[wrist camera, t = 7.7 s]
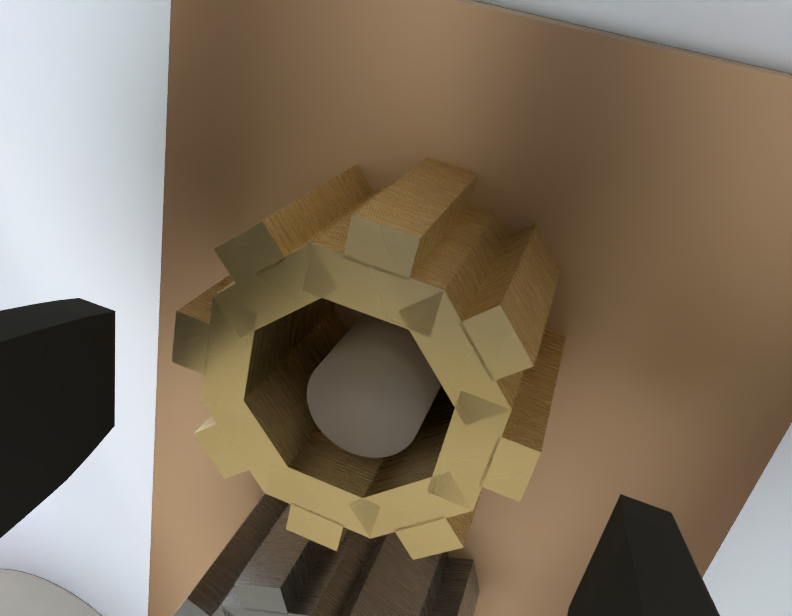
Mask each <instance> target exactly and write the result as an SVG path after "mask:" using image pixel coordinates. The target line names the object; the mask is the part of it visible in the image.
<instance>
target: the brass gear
mask: <svg viewBox="0 0 792 616" xmlns="http://www.w3.org/2000/svg"><path fill="white" fill-rule="evenodd" d="M477 176H478V173H475V172H472V171H469V170H466V169H462V168H459V167H456V166H453V165H450V164H447V163H444V162H441V161H437V160H434V159H431V158H428V157H427V158H426V159H424V160H423V161H422V162H420V163H419V164H418V165H417V166H415V167H414V168H413V169H411V170H410V171H409V172H407V173H406V174H405V175H404V176H402V177H401V178H400V179H398V180H393V181H391V182H390V183H388V184H386V185H384V186H382V187H381V188H379V189H377V190H375V191H373V190H372V189H371V187H370V185H369V183H368V182H367V180H366V178H365V177H364V175H363V173H362V171H361V170H360V168H359V166H358V164H356V165H355V166H353V167H351V168H349V169H348V170H346V171H344V172H343V173H341V174H339V175H338V176H336V177H334V178H332V179H331V180H329V181H327V182H326V183H324V184H322V185H320V186H319V187H317V188H315V189H314V190H312V191H310V192H309V193H307V194H305V195H304V196H302V197H300V198H299V199H297V200H295V201H294V202H292V203H290V204H289V205H287V206H285V207H284V208H282V209H280V210H279V211H277V212H275V213H274V214H272V215H270V216H269V217H267V218H265V219H264V220H262V221H260V222H259V223H257V224H255V225H254V226H252V227H250V228H249V229H247V230H245V231H244V232H242V233H240V234H239V235H237V236H235V237H234V238H232V239H230V240H229V241H227V242H225V243H224V244H222V245H220V246H219V247H217V248H215V249H214V250H215V252H216V253H217V255H218V257H219V258H220V260H221V261H222V263H223V264H224V266H225V268H226V269H227V271H228V272H229V274H230V275H228V276H227V277H225V278H224V279H222V280H221V281H219V282H218V283H217V284H215V285H214V286H212V287H211V288H209V289H208V290H206V291H205V292H203V293H202V294H200V295H199V296H198V297H196V298H195V299H193V300H192V301H190V302H189V303H187V304H186V305H184V306H183V307H181V308H180V309H179V310H177V311H176V318H175V329H174V341H173V352H172V362H173V363H175V364H178V365H180V366H183V367H185V368H188V369H190V370H193V371H195V372H198V373H200V374H203V375H204V376H203V385H202V393H201V400H202V402H203V403H204V405H205V406H206V408H207V409H208V411H209V412H210V414H211V415H212V416H211V417H210V418H209V419H208V420H207V421H206V422H205V423H204V424H203V425H202V426H201V427H200V428H199V429H198V430H197V431H196V432H195V433H194V436H195V437H196V439H197V440H198V442H199V443H200V444H201V446H202V447H203V449H204V450H205V452H206V453H207V454H208V456H209V457H210V459H211V460H212V462H213V463H214V465H215V466H216V467H217V469H218V470H219V472H220V473H221V475H222V476H223V478H224V479H226V478H229V477H231V476H234V475H237V474H240V473H242V472H245V471H248V470H249V471H250V472H251V474H252V475H253V477H254V478H255V480H256V481H257V483H258V484H259V485H260V487H261V488H262V490H263V491H264V493H265V494H268V495H270V496H272V497H275V498H277V499H279V500H282V501H284V502H286V503H289V504H291V507H290V511H289V516H288V521H287V526H286V529H287V530H289V531H291V532H293V533H296V534H298V535H300V536H303V537H305V538H307V539H309V540H312V541H314V542H316V543H319V544H321V545H323V546H326V547H328V548H330V549H332V550H335V551H337V550H338V548H339V546H340V544H341V543H342V541H343V539H344V537H345V535H346V533H347V532H348V530H352V531H354V532H356V533H359V534H361V535H363V536H366V537H368V538H370V539H371V538H375V537H378V536H382V535H386V534H389V533H393V532H395V533H396V534H397V536H398V537H399V539H400V541H401V542H402V544H403V545H404V547H405V548H406V550H407V551H408V553H409V555H410V556H411V558H412V559H413V560H415V559H419V558H423V557H427V556H431V555H435V554H439V553H443V552H447V551H452V550H456V549H460V548H464V545H465V541H466V538H467V535H468V532H469V529H470V526H471V522H472V519H473V516H474V513H475V510H476V507H477V504H478V500H479V497H480V494H481V491H482V488H483V487H484V488H486V489H488V490H491V491H493V492H496V493H498V494H501V495H503V496H506V497H508V498H511V499H513V500H516V501H518V502H520V501H521V499H522V497H523V494H524V492H525V490H526V487H527V485H528V483H529V480H530V478H531V475H532V473H533V471H534V468H535V466H536V464H537V461H538V459H539V457H540V454H541V451H542V447H543V442H544V437H545V433H546V428H547V423H548V418H549V414H550V409H551V404H552V400H553V395H554V390H555V386H556V381H557V376H558V371H559V367H560V362H561V357H562V353H563V348H564V343H565V339H566V337H563V336H560V335H557V334H554V333H552V332H549V331H546V330H544V329H545V325H546V322H547V318H548V315H549V311H550V308H551V304H552V301H553V297H554V293H555V290H556V286H557V283H558V279H559V276H560V272H561V268H560V266H559V264H558V262H557V260H556V258H555V256H554V254H553V252H552V250H551V249H550V247H549V245H548V243H547V241H546V239H545V237H544V235H543V233H542V231H541V229H540V228H539V226H538V224H537V223H536V224H533V225H531V226H529V227H527V228H525V229H523V230H521V231H519V232H516V233H514V234H512V235H510V236H507V234H506V233H505V231H504V229H503V227H502V225H501V223H500V221H499V219H498V218H497V216H496V214H495V213H494V212H491V211H488V210H485V209H482V208H479V207H476V206H473V205H470V204H469V203H470V199H471V196H472V192H473V189H474V186H475V182H476V179H477ZM335 303H338V304H340V305H343V306H346V307H349V308H351V309H354V310H357V311H359V312H362V313H365V314H368V315H370V316H373V317H376V318H378V319H381V320H384V321H387V322H389V323H392V324H395V325H398V326H400V327H403V328H406V329H408V330H409V331H410V332H411V334H412V336H413V337H414V339H415V341H416V342H417V344H418V346H419V348H420V349H421V351H422V353H423V354H424V356H425V358H426V359H427V361H428V363H429V364H430V366H431V368H432V370H433V371H434V373H435V375H436V376H437V378H438V380H439V381H440V383H441V387H440V389H439V391H438V393H437V395H436V397H435V399H434V401H433V403H432V405H431V407H430V409H429V411H428V413H427V414H426V416H425V418H424V420H423V422H422V424H421V426H420V428H419V430H418V432H417V434H416V436H415V438H414V440H413V441H412V442H411V443H410V444H409V445H408V446H407V447H406V448H405V449H404V450H402V451H401V452H399V453H396V454H394V455H391V456H388V457H381V458H370V457H363V456H359V455H356V454H353V453H350V452H348V451H346V450H344V449H342V448H340V447H339V446H337V445H336V444H334V443H333V442H332V441H331V440H329V439H328V438H327V437H326V436H325V435H324V434H323V433H322V431H321V430H320V429H319V428H318V426H317V425H316V423H315V421H314V420H313V418H312V415H311V413H310V410H309V407H308V402H307V387H308V383H309V380H310V377H311V375H312V373H313V372H314V370H315V369H316V368H317V367H318V365H319V364H320V363H321V362H322V361H323V360H324V358H325V357H326V356H327V355H328V354H329V353H330V351H331V350H332V349H333V348H334V347H335V346H336V345H337V343H338V342H339V341H340V340H341V339H342V338H343V336H344V335H345V334H346V333H347V332H348V331H347V329H346V327H345V326H344V324H343V322H342V321H341V319H340V318H339V316H338V314H337V313H336V311H335V309H334V305H335Z"/></svg>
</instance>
